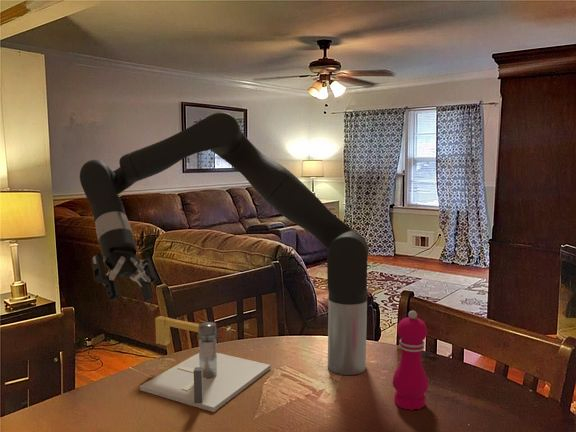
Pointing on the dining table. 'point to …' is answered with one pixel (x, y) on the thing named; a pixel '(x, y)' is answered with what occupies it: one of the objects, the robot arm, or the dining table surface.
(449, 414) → the dining table surface
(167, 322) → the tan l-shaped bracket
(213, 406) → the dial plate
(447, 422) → the dining table surface
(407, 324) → the pepper mill
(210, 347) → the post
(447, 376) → the dining table surface
